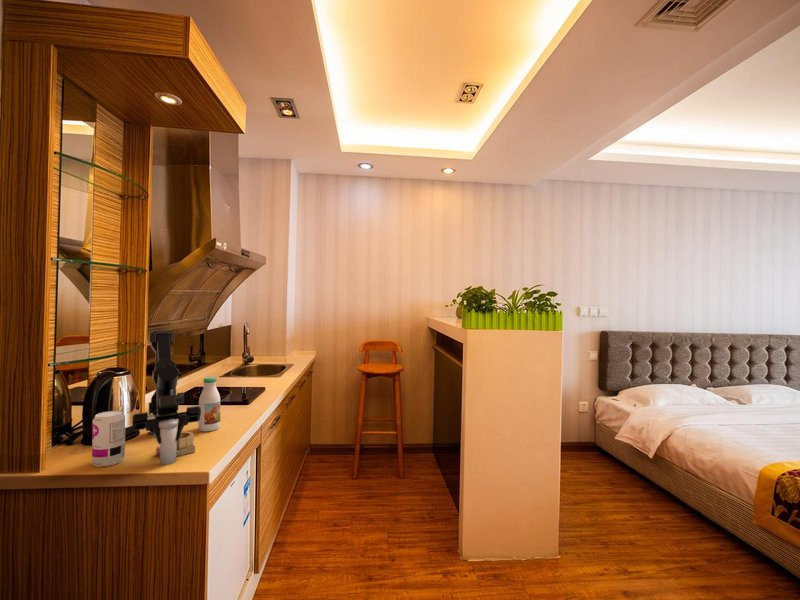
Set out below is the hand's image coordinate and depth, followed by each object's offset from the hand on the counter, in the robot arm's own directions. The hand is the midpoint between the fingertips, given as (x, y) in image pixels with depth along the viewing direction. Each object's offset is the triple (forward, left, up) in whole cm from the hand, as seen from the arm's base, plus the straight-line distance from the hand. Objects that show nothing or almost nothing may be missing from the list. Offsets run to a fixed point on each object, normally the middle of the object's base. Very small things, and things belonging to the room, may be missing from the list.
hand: (168, 442), depth 122 cm
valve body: (-7, +9, -7) cm, 14 cm away
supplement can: (-18, -5, -7) cm, 20 cm away
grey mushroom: (-1, +1, -7) cm, 7 cm away
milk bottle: (-12, +31, -7) cm, 34 cm away
